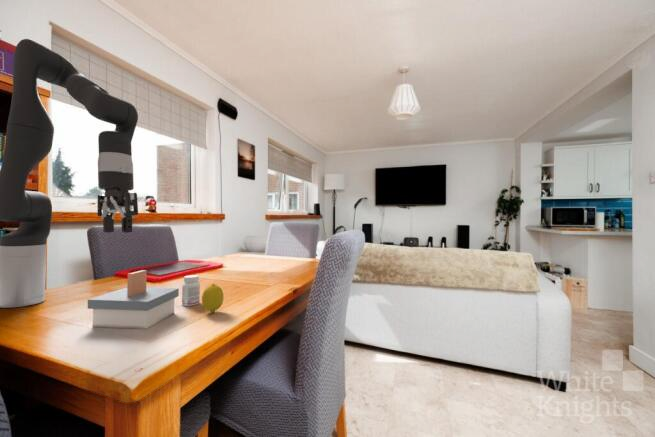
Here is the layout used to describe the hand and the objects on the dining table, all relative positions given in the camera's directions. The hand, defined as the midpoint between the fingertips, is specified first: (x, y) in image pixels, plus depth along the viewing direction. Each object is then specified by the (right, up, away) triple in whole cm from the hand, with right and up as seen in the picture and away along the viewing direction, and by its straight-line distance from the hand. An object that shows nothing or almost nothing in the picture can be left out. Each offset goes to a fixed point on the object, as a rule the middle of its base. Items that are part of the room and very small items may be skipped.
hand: (117, 232), depth 74 cm
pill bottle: (+15, -23, +10) cm, 29 cm away
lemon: (+24, -23, +3) cm, 33 cm away
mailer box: (+8, -22, -4) cm, 24 cm away
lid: (+8, -18, -4) cm, 19 cm away
